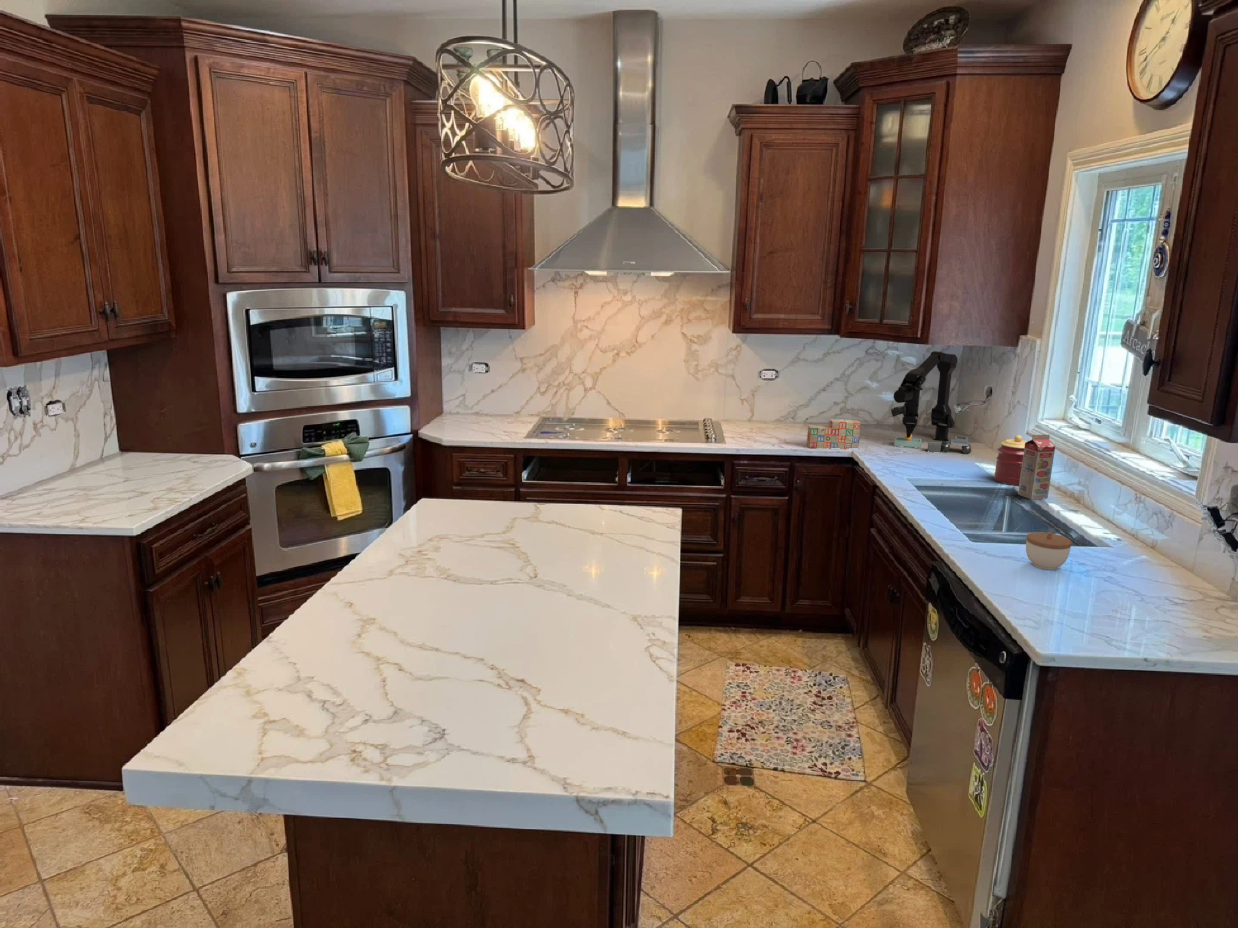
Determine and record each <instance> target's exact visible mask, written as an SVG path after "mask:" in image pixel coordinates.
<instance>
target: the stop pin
mask: <svg viewBox="0 0 1238 928" xmlns="http://www.w3.org/2000/svg"><path fill="white" fill-rule="evenodd" d="M912 437H913V433H912V434H911V436H910V438H907V433H906V432H905V437H904V438H905V440H906V441H911V438H912Z"/></svg>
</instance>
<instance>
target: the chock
mask: <svg viewBox="0 0 1238 928" xmlns="http://www.w3.org/2000/svg"><path fill="white" fill-rule="evenodd" d="M941 443H942V442H940V443H939V442H927V452H928V451H929V452H928V453H934V452H940V453H941V451H942V450H941Z"/></svg>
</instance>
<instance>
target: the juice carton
mask: <svg viewBox="0 0 1238 928" xmlns="http://www.w3.org/2000/svg"><path fill="white" fill-rule="evenodd" d="M1031 437H1032V439H1030V440H1027V441H1028V442H1026V443H1025V447H1024V454H1023V462H1022V469H1021V476H1020V483H1019V485H1018V486H1019V487H1018V492H1017V493H1018V495H1019V496H1021V497H1024V498H1026V499H1030V500H1042V499H1041V498H1049V492H1050V483H1051V478H1052V477H1051V476H1052V472H1053V464H1054V458H1055V452H1056V445H1055V444H1054V443H1053V442H1052V440H1050V434H1033V435H1032V436H1031Z"/></svg>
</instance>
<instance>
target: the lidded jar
mask: <svg viewBox="0 0 1238 928" xmlns="http://www.w3.org/2000/svg"><path fill="white" fill-rule="evenodd" d="M1025 539H1026V543H1025V552H1026V557H1027V558H1028V560H1029V561H1030V562H1031V564H1032V566H1033V567H1036V568H1038V569H1039V570H1040V569H1041V570H1047V571H1056V570H1058V569H1059V568H1060V567H1061V566H1063V565H1064V564H1065V563H1066V562H1067V560H1068V558H1069V555H1070V552H1071V548H1072V544H1073V543H1072V540H1071V539H1069V538H1068V537H1066V536H1062V535H1060V534H1056V533H1053V532H1051V531H1048V532H1044V531H1043V532H1041V531H1039V532H1029V533H1028V534H1026V538H1025Z"/></svg>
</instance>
